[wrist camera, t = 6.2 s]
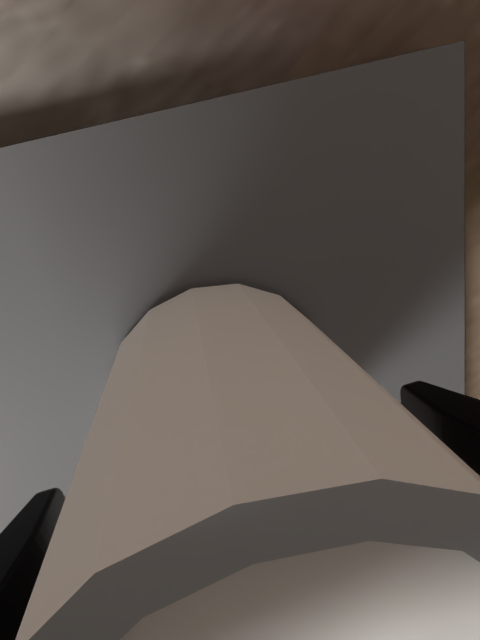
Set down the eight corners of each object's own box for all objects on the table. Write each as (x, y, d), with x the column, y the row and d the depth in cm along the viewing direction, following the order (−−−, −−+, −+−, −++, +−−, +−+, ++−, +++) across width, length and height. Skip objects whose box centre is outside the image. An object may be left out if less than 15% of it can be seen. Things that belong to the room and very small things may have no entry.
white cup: (251, 195, 9) (441, 344, 3) (389, 390, 12) (627, 665, 6) (19, 378, 10) (-189, 784, 4) (201, 521, 13) (243, 881, 7)
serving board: (432, 50, 10) (464, 40, 9) (442, 461, 16) (464, 485, 15) (-175, 191, 9) (-220, 198, 8) (56, 582, 15) (49, 618, 14)
